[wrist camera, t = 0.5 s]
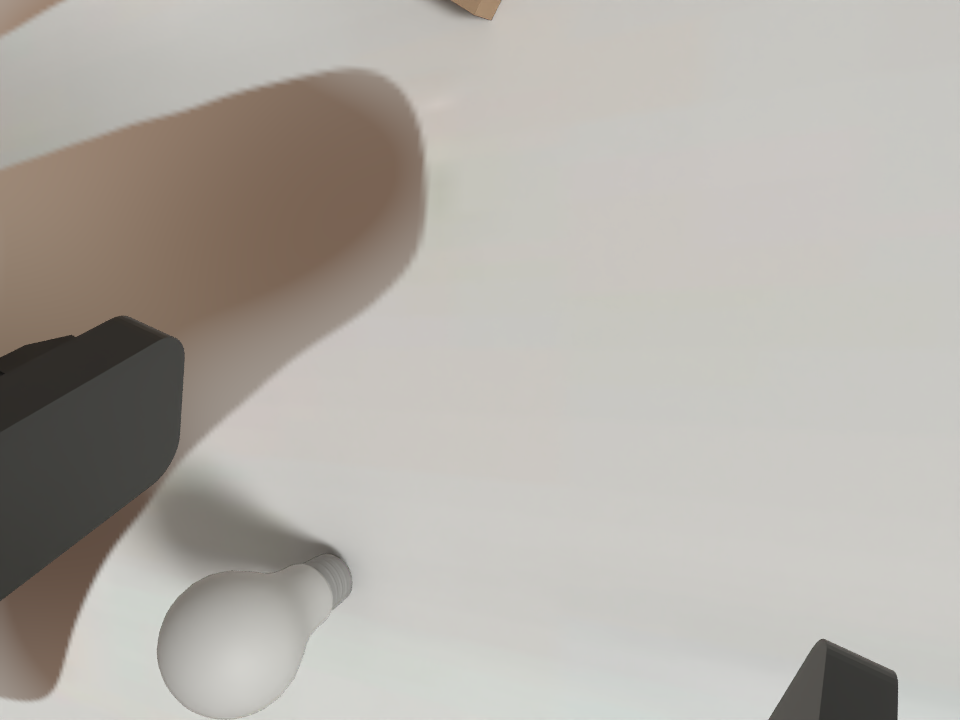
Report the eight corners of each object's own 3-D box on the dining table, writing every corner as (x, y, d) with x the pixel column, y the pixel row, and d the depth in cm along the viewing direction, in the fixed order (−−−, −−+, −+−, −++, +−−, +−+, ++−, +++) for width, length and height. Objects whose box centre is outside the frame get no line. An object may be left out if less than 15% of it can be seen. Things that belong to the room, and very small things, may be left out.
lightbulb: (411, 569, 44) (260, 681, 34) (359, 651, 46) (205, 778, 37) (321, 489, 46) (153, 575, 36) (276, 573, 48) (107, 674, 39)
